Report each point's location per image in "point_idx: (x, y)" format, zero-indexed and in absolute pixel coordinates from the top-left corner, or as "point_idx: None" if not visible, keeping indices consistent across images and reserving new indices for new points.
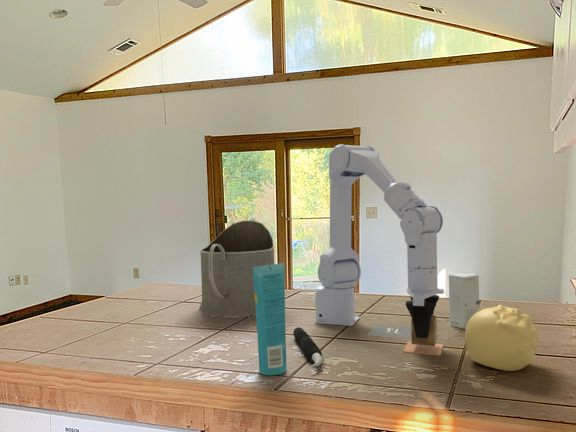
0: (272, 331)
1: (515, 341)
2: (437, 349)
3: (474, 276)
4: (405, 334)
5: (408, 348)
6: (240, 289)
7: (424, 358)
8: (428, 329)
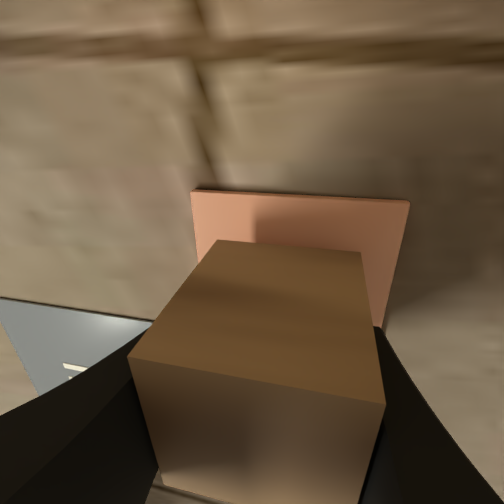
0: None
1: None
2: (303, 222)
3: None
4: (111, 344)
5: None
6: None
7: (457, 282)
8: (407, 377)
